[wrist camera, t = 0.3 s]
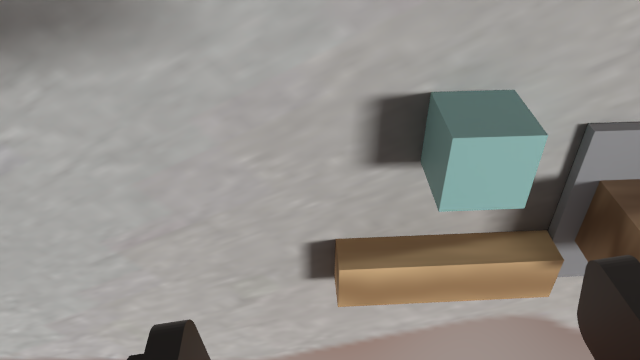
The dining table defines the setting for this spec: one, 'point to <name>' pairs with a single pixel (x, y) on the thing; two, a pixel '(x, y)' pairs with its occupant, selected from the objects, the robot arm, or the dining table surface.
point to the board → (592, 184)
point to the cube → (481, 150)
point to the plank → (445, 268)
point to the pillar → (612, 221)
